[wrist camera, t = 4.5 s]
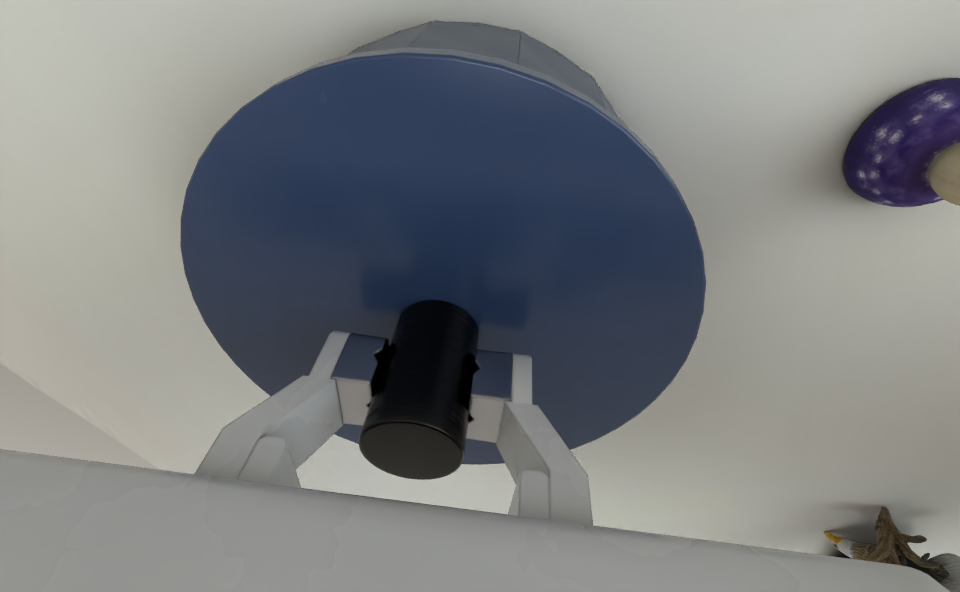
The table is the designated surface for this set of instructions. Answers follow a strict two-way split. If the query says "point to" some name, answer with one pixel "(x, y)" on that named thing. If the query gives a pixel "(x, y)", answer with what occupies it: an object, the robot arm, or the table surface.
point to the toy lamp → (909, 148)
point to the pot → (495, 51)
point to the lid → (444, 246)
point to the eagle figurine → (901, 552)
